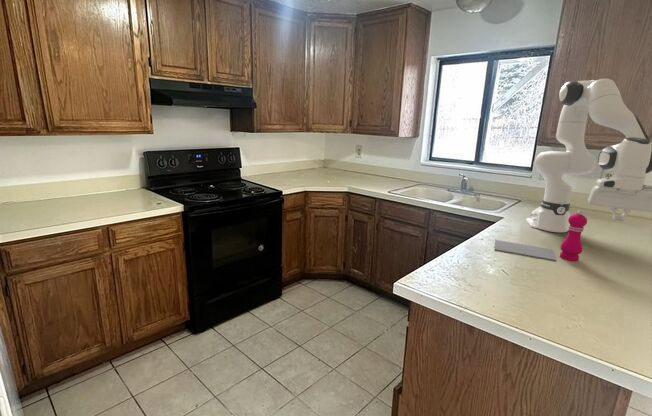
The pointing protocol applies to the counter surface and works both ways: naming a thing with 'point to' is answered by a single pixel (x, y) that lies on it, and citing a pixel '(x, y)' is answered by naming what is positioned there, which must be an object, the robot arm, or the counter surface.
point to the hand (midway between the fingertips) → (617, 220)
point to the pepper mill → (573, 238)
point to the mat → (525, 250)
